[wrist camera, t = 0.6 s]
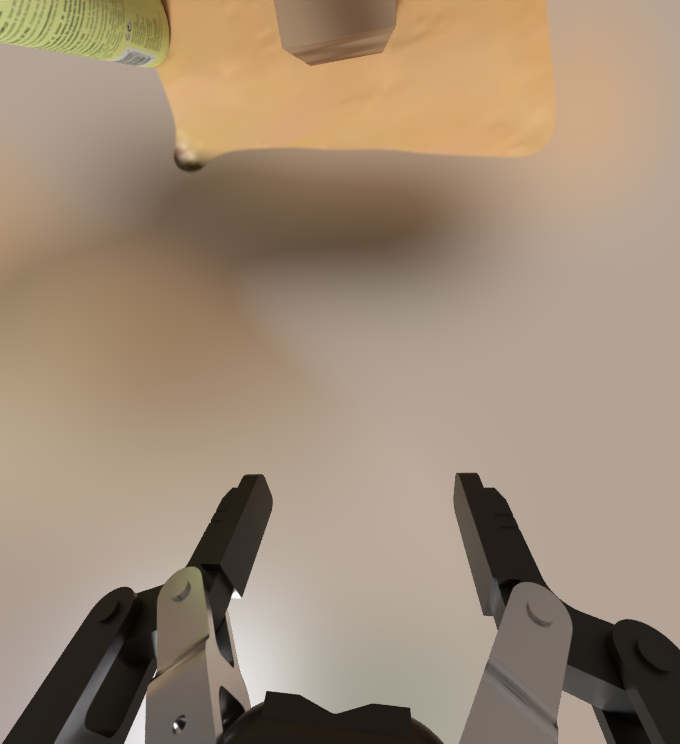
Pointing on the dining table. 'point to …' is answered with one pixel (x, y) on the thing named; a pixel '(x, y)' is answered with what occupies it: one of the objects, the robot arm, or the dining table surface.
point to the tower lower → (345, 54)
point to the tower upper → (333, 25)
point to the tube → (89, 28)
